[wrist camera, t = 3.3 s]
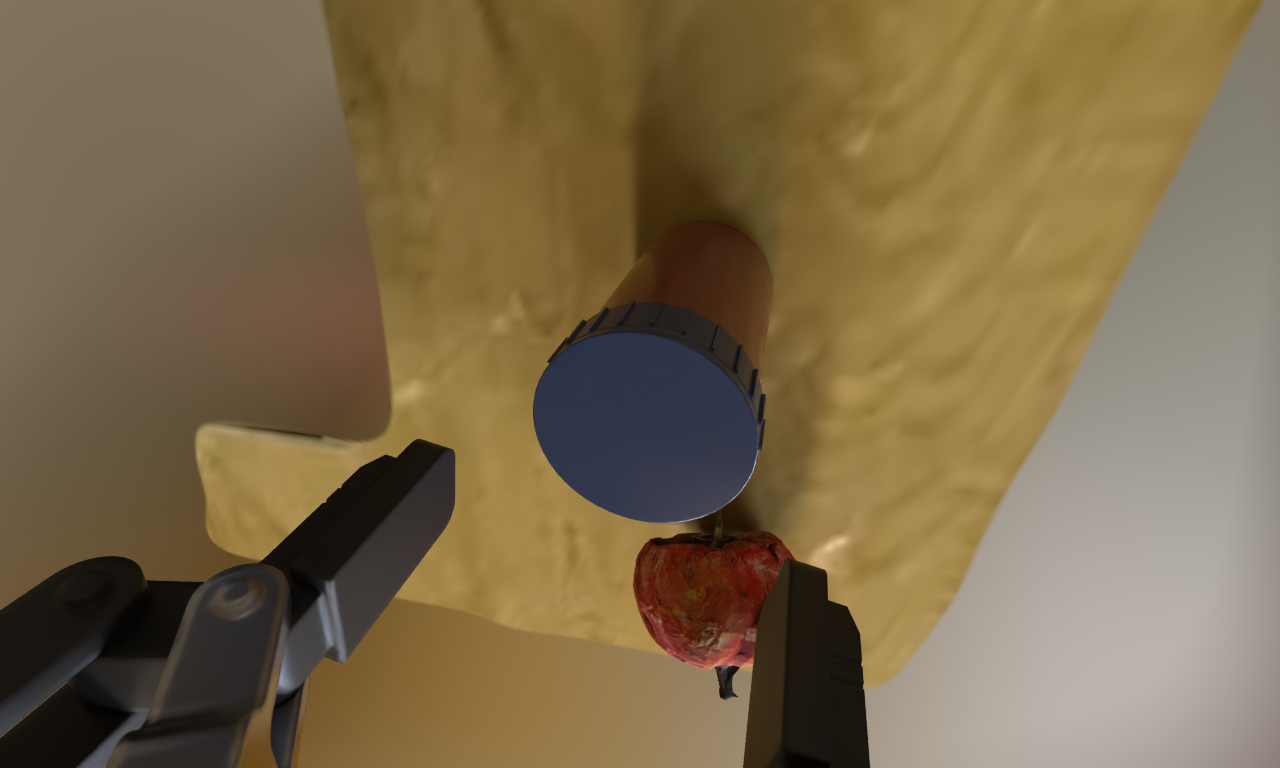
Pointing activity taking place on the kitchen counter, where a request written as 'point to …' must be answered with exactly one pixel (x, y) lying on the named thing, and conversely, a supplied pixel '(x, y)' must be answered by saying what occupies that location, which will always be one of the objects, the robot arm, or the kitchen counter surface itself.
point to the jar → (706, 281)
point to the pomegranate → (708, 595)
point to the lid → (651, 413)
